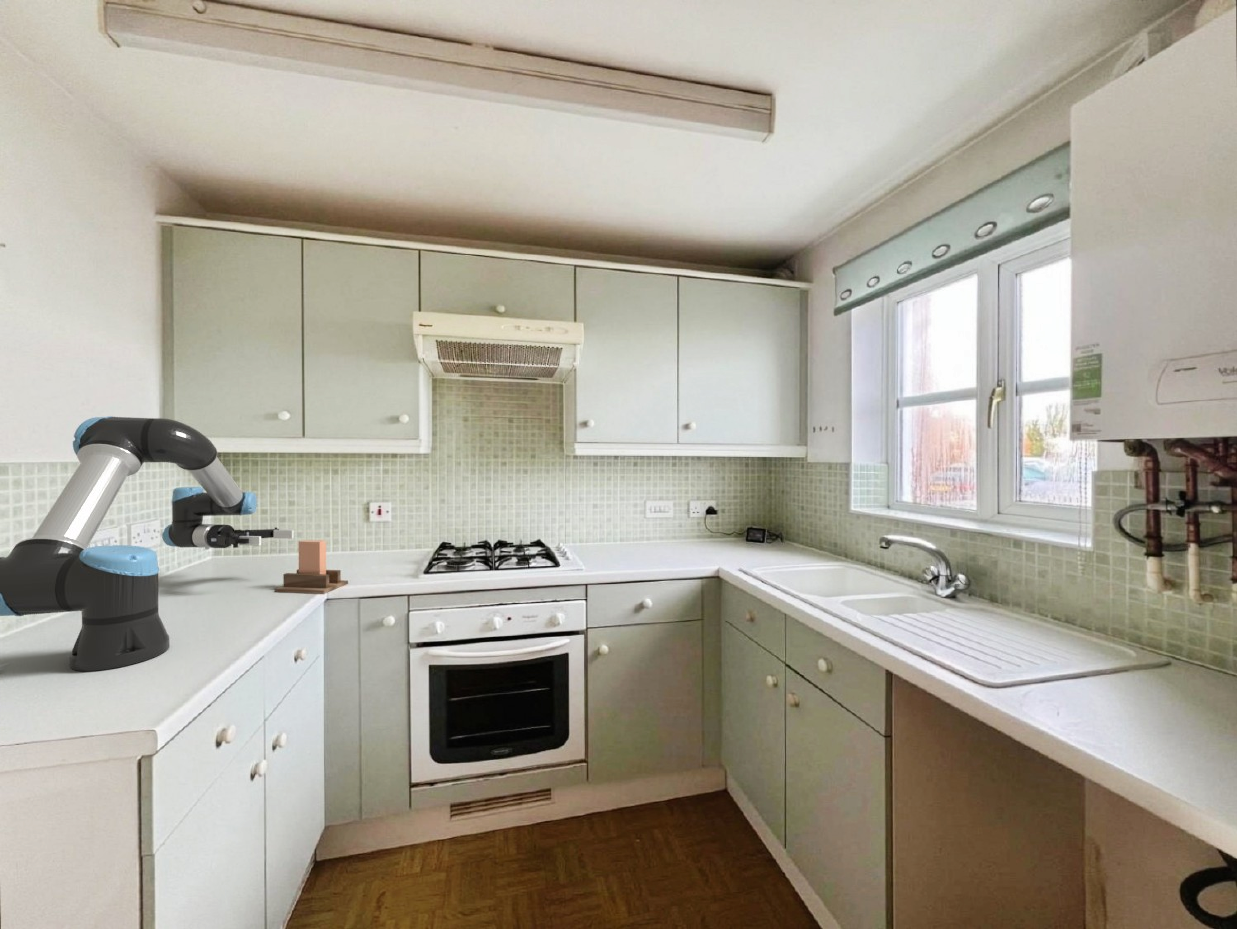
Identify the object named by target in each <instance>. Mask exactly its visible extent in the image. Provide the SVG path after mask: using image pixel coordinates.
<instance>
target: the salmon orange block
mask: <svg viewBox="0 0 1237 929" xmlns="http://www.w3.org/2000/svg"><path fill="white" fill-rule="evenodd" d="M298 569H299V574H326V570H327V540H325V539H322V540H321V539H319V540H318V539H304V540H300V541H298Z"/></svg>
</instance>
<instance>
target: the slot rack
mask: <svg viewBox="0 0 1237 929" xmlns="http://www.w3.org/2000/svg"><path fill="white" fill-rule="evenodd" d="M341 573H342V570H340V569H326V574H299V568H297V569H296V573H295V572H294V573H293V572H286V573H283V576H282V578H283V579H282V580H283V585H282V586H279V587H276V588H274V593H286V594H287V593H289V594H290V593H291V594H292V593H293V594H313V595H315V594H316V595H318V594H319V595H325V594H327V593H330V592H332V591H335V590H336V589H339V588H341V587H343V586H346V585H348V584H349V580H341V578H342V576H341V575H342V574H341Z"/></svg>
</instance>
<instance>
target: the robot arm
mask: <svg viewBox="0 0 1237 929" xmlns="http://www.w3.org/2000/svg"><path fill="white" fill-rule="evenodd" d="M73 438H74V440H73V441H72V448H73V451H74V454H75V455H76V457H77V460H78V462H80V464H79V465H78V466H77V468H76V470H75V471H74V473H73V474H72V476H70V479H69V481H68V482H67V483H66V485H65V487H64V488H63V489H62V491H61V493H60V494H59V496H58V497H57V499H56V500H55V502H54V504H53V505H52V506H51V508H50V510H49V512H47V514H46V515H45V517H44V519H43V520H42V522H41V524H40V525H39V526H38V528H37V530H35V531H36V532H35V533H33V536H32V537H30V538H27V539H26V538H25V539H22V540H20V541H19V542H18V543H17V544H15V546H13V549H12V550H11V552H10V553H9V554H8V555H7V556H6V557H5V556H0V617H8V616H12V617H13V616H15V617H22V616H23V617H24V616H29V615H41V614H43V615H44V614H54V613H55V614H57V613H69V612H70V613H71V612H81V628H80V631H79V633H78V636H77V638H76V640H75V642H74V645H73V648H72V651H71V652H70V653H69V654H70V655H69V667H70V669H71V670H74V671H85V672H91V671H101V670H102V671H103V670H104V671H105V670H110V669H117V668H122V667H126V666H130V665H134V664H137V663H141V662H144V661H148V660H150V659H153V658H155V657H158V656H159V655H161V654H164V653H165V652H167V651H168V650H169V649H170V635H169V634H168V632H167V629H166V627H165V625H164V623H163V621H162V619H161V616H160V615H159V614H160V613H159V571H160V567H159V561H158V555H157V553H156V552H155V551H154V550H153V549H151V548H149V547H148V548H147V547H145V546H138V545H125V544H123V545H122V544H113V545H97V546H90V547H89V545H90V543H91V542H92V540H93V538H94V536H95V535H96V533H97V532H98V529H99V527H100V525H101V523H102V522H103V520H104V518H105V517H106V515H107V513H108V511H109V509H110V507H111V506H112V504H113V502H114V500H115V498H116V496H117V495H118V493H119V491H120V489H121V487H122V486H123V484H124V482H125V480H126V479H127V477H130V476H133V475H135V474H136V473H138V472H139V471H140V469H141V468H142V466H143V464H144V463H170V464H176V466H178V467H179V468H180V469H181V470H185V471H188V473H189V474H191V476H192V477H193V479H195V480H196V482H197V483H198V484H199V485H200V486H181V487H180V486H179V487H176V488H174V489H173V490H172V498H171V514H172V515H171V518H172V520H171V524H168V525H167V526H165V528H164V531H163V532H162V533H161V537H162V541H163V543H164V544H165V545H167V546H169V547H176V548H177V547H178V548H204V550H206V551H207V550H209V549H210V548H211V549H227V548H229V547H231V546H232V548H234V549H236V548H239V546H262V539H269V538H271V539H272V538H273V539H287V540H288V539H295V538H294V537H295V536H294V534H295V532H294V531H295V530H292V529H279V528H277V527H274V528H270V529H269V528H267V529H235V528H234V527H233V526H231V525H230V524H217V523H203V520H204V517H209V516H211V517H212V516H216V517H218V516H245V515H247V516H248V515H252V514H255V512H256V510H257V506H258V499H257V496H256V494H255V493H254V492H251V491H250V492H249V491H244V492H243V491H242V489H241V488H240V487H239V486H238V484H237V482H235V480H234V478H232V476H231V474H230V473H229V471H228V470H227V469H226V467H225V466H224V465H223V463H222V462H221V461H220V459H219V458H218V450H217V448H216V447H215V445H214V444H213V443H212V440H210V439H209V438H208V437H207V436H206V435H205V434H204V433H202V432H200V431H199V430H197V429H196V428H194V427H192V426H190V425H188V424H186V423H183V422H181V421H178V420H175V419H169V418H162V417H161V418H160V417H158V418H155V417H154V418H151V417H150V418H148V417H126V416H123V417H121V416H119V417H118V416H113V415H112V416H111V415H110V416H98V417H97V416H96V417H91V418H88V419H86V420H85V421H83V422H82V423H81V424H80V425H78V427H77V428H76V430H75V432H74V434H73ZM204 491H205V492H204Z"/></svg>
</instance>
